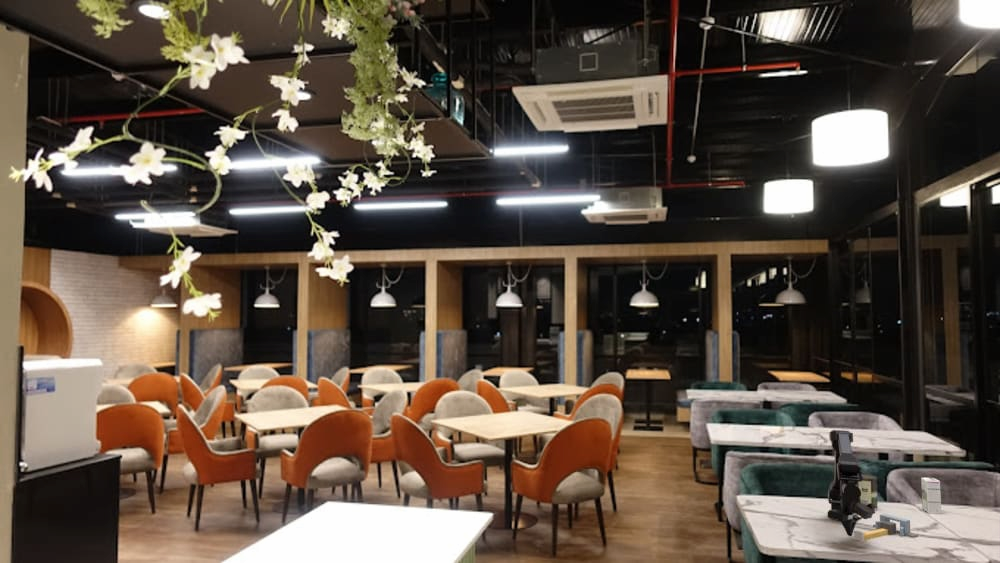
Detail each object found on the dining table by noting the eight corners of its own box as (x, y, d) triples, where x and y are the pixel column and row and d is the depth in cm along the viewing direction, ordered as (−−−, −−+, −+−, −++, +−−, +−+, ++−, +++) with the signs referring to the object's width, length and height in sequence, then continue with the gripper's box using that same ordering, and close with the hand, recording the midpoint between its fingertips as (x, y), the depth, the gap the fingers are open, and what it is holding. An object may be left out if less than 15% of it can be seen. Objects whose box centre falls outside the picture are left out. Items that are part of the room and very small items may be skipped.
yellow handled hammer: (863, 541, 250) (862, 531, 251) (853, 538, 254) (852, 528, 254) (896, 533, 261) (896, 523, 261) (886, 530, 265) (885, 520, 265)
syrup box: (941, 514, 290) (940, 480, 291) (927, 513, 291) (926, 479, 292) (936, 510, 296) (935, 477, 296) (921, 509, 297) (920, 477, 298)
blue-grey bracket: (909, 538, 255) (908, 524, 255) (868, 527, 269) (868, 513, 269) (918, 536, 258) (917, 522, 258) (877, 525, 272) (877, 511, 272)
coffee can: (869, 504, 304) (869, 473, 305) (882, 510, 294) (881, 478, 295) (847, 504, 304) (846, 473, 305) (859, 510, 294) (858, 478, 295)
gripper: (854, 502, 239) (855, 546, 238) (884, 496, 248) (885, 538, 247) (826, 494, 249) (826, 537, 248) (856, 489, 258) (856, 530, 257)
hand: (849, 535), depth 250 cm, fingers closed
